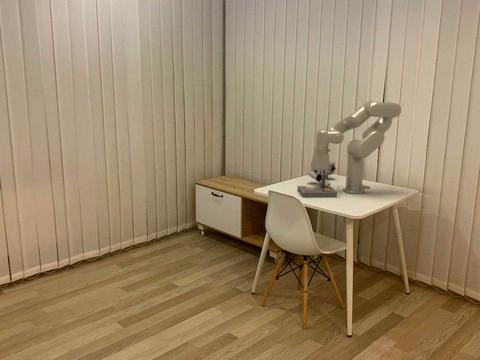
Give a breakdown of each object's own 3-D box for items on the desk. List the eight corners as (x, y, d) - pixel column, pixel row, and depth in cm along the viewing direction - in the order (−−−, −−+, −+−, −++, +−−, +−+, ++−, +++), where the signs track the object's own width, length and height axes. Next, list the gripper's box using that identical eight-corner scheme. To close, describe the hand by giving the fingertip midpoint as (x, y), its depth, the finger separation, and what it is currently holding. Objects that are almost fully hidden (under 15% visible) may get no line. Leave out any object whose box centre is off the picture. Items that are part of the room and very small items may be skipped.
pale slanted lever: (326, 184, 297) (308, 171, 302) (322, 192, 300) (304, 178, 305) (331, 182, 304) (313, 169, 309) (327, 189, 307) (309, 176, 312)
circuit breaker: (332, 181, 314) (333, 158, 311) (312, 178, 322) (313, 156, 318) (336, 179, 320) (337, 157, 317) (317, 176, 328) (318, 155, 325)
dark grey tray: (330, 190, 289) (330, 185, 289) (336, 197, 274) (336, 192, 273) (297, 190, 288) (297, 185, 287) (302, 197, 273) (302, 192, 272)
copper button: (329, 193, 279) (329, 188, 279) (331, 195, 275) (331, 190, 274) (322, 193, 279) (322, 188, 278) (323, 195, 275) (324, 190, 274)
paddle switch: (325, 185, 287) (325, 176, 286) (326, 187, 283) (327, 177, 281) (319, 185, 287) (319, 176, 285) (320, 187, 283) (321, 177, 281)
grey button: (312, 190, 278) (313, 185, 278) (314, 192, 274) (314, 187, 274) (305, 190, 278) (305, 185, 278) (306, 192, 274) (307, 187, 273)
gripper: (332, 150, 284) (329, 180, 288) (307, 149, 283) (305, 179, 287) (335, 152, 277) (332, 183, 281) (310, 151, 276) (307, 182, 280)
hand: (318, 181), depth 284 cm, fingers closed
